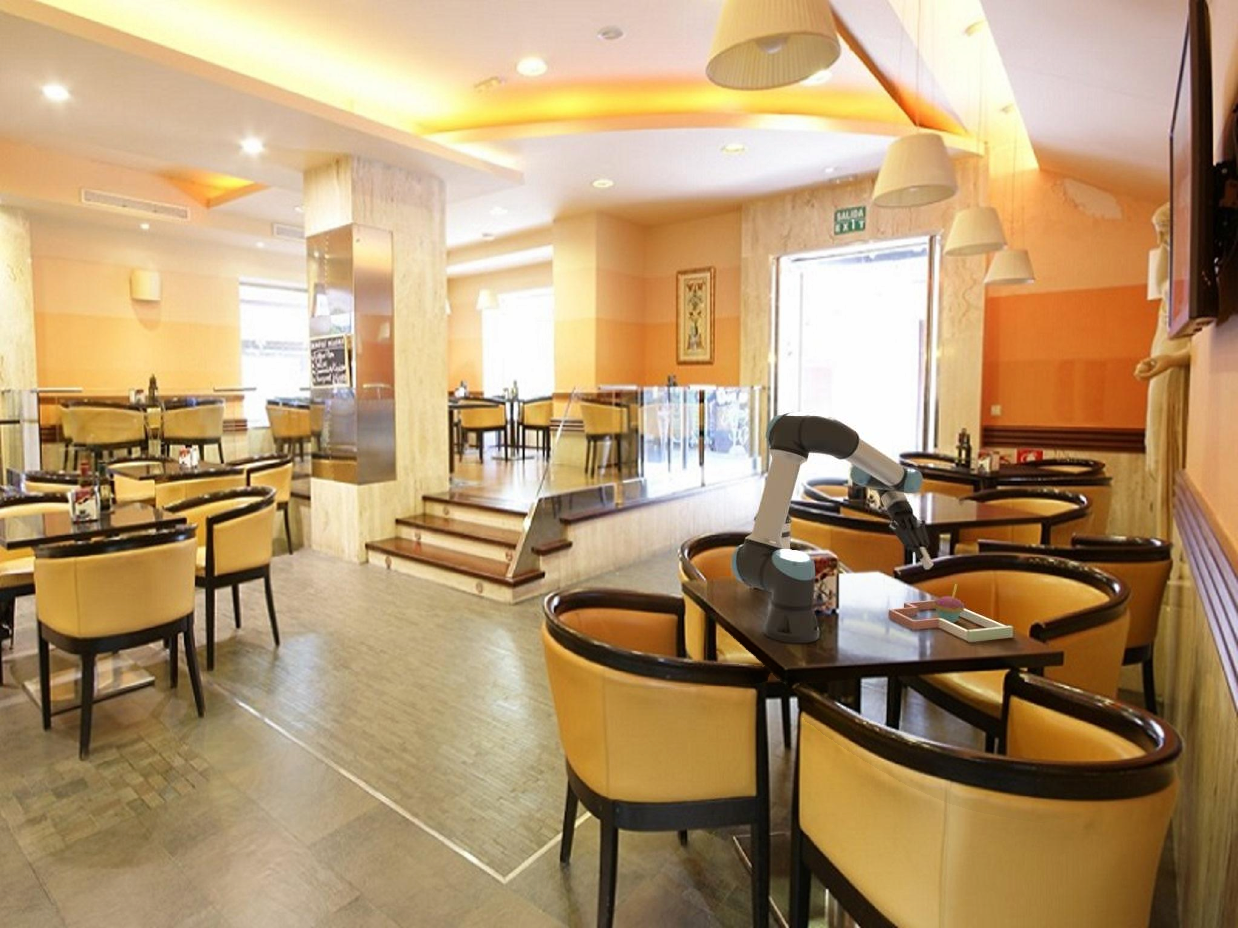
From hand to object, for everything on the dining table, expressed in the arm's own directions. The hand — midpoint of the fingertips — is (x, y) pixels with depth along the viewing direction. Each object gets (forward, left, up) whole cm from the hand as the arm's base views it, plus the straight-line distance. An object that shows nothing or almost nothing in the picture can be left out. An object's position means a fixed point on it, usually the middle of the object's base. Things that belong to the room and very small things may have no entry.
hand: (929, 566), depth 217 cm
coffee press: (-37, +34, -14) cm, 52 cm away
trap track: (-5, -12, -14) cm, 19 cm away
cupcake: (0, -9, -14) cm, 17 cm away
